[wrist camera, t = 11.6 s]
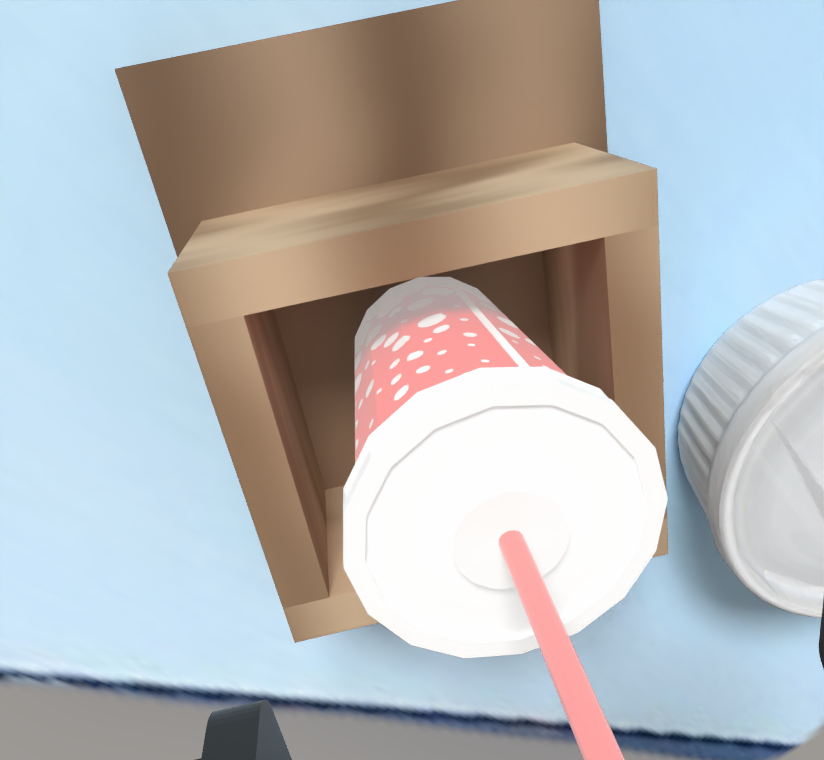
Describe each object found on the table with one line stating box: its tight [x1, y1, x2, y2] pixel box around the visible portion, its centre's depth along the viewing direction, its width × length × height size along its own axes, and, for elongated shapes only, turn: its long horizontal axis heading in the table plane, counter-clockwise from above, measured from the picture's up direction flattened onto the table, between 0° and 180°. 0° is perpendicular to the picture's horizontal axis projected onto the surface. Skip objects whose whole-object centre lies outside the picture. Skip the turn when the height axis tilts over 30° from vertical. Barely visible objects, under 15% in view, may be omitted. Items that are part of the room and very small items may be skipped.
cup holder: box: [115, 0, 668, 643], centre depth 19 cm, size 12×18×6 cm, turn 10°
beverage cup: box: [343, 277, 668, 760], centre depth 15 cm, size 6×6×14 cm
